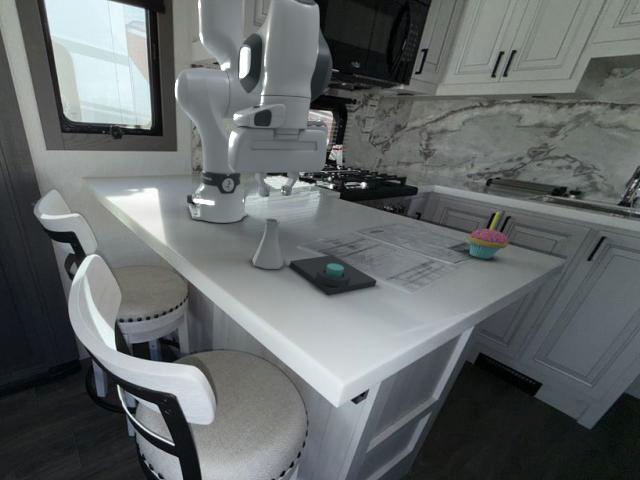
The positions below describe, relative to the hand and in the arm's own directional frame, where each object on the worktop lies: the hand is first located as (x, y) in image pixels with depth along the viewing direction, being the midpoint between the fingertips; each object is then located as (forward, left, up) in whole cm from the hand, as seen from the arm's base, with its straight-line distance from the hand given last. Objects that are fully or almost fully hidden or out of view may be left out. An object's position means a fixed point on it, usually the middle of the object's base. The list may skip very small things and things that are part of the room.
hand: (275, 195), depth 62 cm
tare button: (+14, +7, -13) cm, 20 cm away
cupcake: (+13, +58, -15) cm, 61 cm away
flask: (0, 0, -15) cm, 15 cm away
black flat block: (+10, +10, -15) cm, 21 cm away
